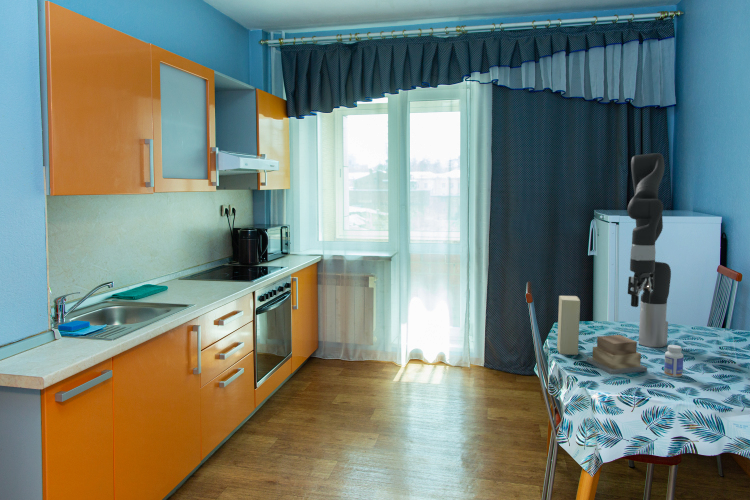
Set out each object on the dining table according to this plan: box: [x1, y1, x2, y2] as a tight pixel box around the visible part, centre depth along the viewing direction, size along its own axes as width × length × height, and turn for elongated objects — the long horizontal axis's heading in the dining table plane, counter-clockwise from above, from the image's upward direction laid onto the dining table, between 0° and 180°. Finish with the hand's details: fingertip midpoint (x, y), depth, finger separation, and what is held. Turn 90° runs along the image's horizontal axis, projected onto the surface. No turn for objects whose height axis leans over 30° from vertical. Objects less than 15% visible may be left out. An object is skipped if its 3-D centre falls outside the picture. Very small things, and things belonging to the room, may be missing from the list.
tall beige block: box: [556, 295, 581, 356], centre depth 203 cm, size 8×7×21 cm
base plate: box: [585, 357, 648, 375], centre depth 187 cm, size 14×14×1 cm
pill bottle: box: [663, 344, 684, 378], centre depth 177 cm, size 5×5×10 cm
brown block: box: [591, 334, 642, 369], centre depth 186 cm, size 11×11×8 cm
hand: (640, 304), depth 182 cm, fingers open, 8 cm apart
